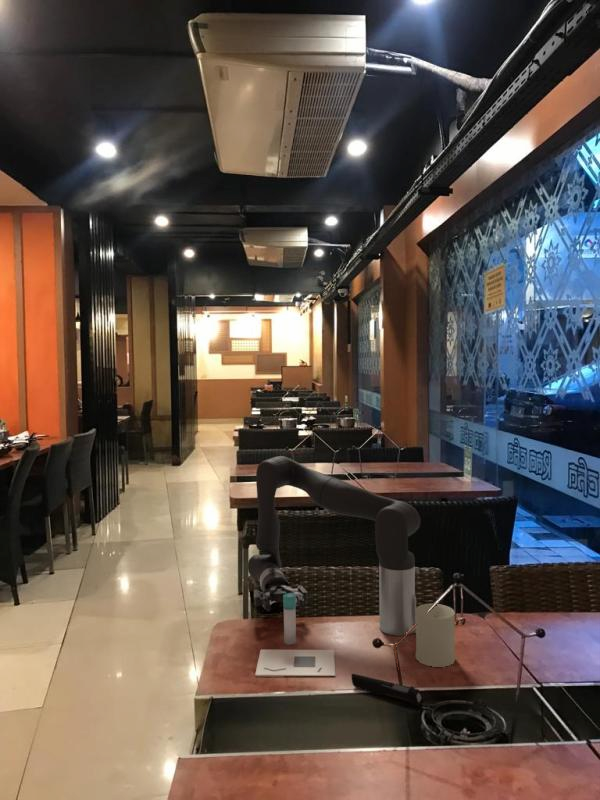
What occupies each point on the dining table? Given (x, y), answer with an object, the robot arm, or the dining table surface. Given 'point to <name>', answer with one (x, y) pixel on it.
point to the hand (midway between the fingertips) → (285, 605)
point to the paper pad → (296, 663)
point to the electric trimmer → (388, 689)
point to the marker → (289, 618)
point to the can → (435, 635)
